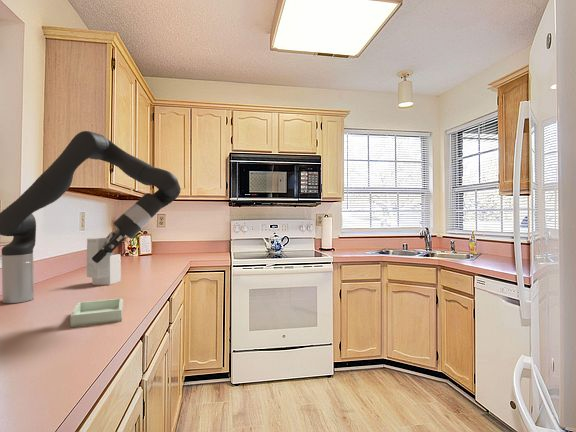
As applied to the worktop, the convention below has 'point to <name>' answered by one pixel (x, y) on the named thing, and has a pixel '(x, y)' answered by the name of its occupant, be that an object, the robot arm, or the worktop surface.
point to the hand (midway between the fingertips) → (92, 259)
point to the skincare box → (92, 267)
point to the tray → (97, 312)
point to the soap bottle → (111, 272)
